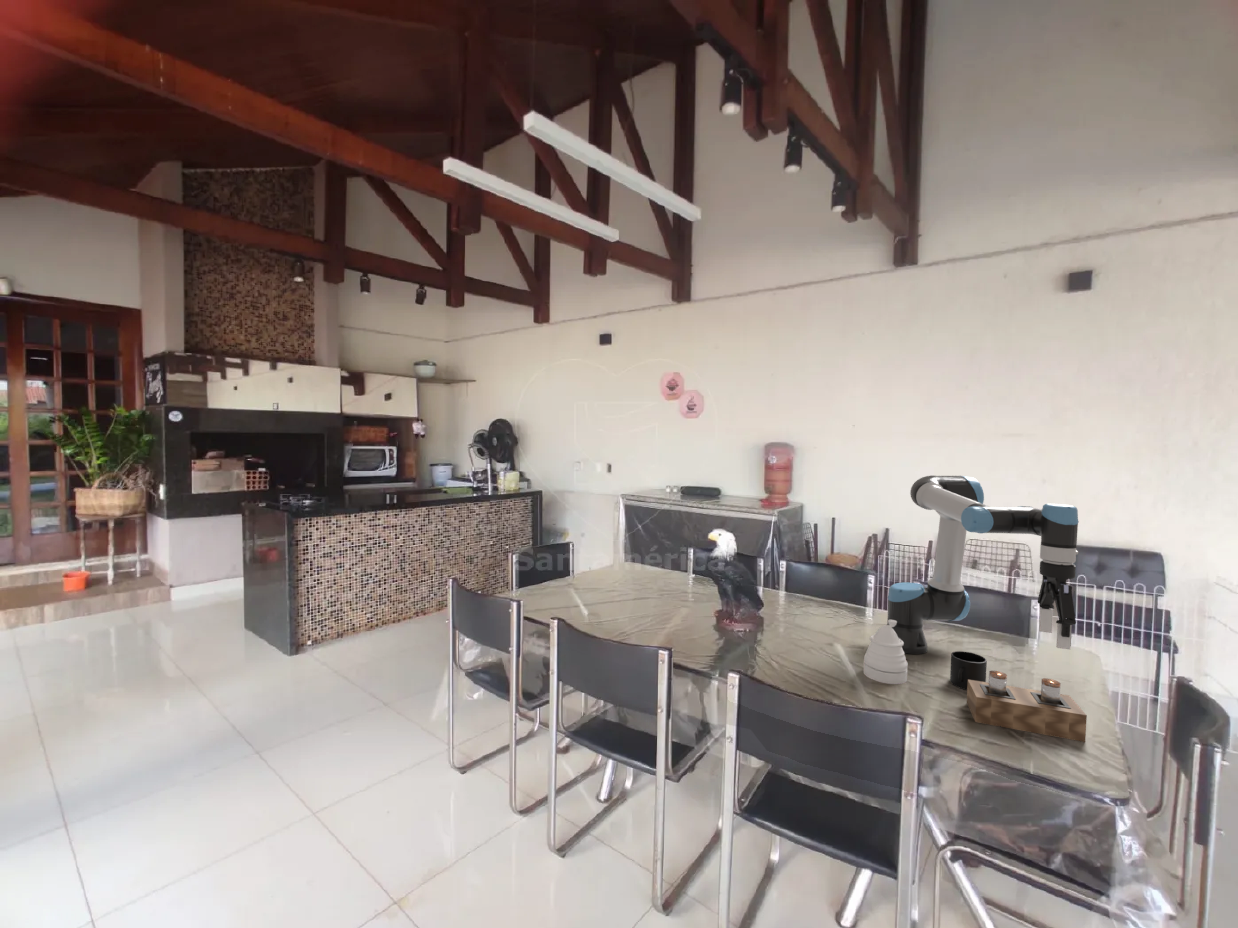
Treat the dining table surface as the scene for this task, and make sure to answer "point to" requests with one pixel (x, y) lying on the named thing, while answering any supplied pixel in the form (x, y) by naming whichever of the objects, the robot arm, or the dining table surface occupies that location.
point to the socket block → (1026, 711)
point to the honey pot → (886, 656)
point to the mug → (967, 668)
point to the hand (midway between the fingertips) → (1054, 639)
